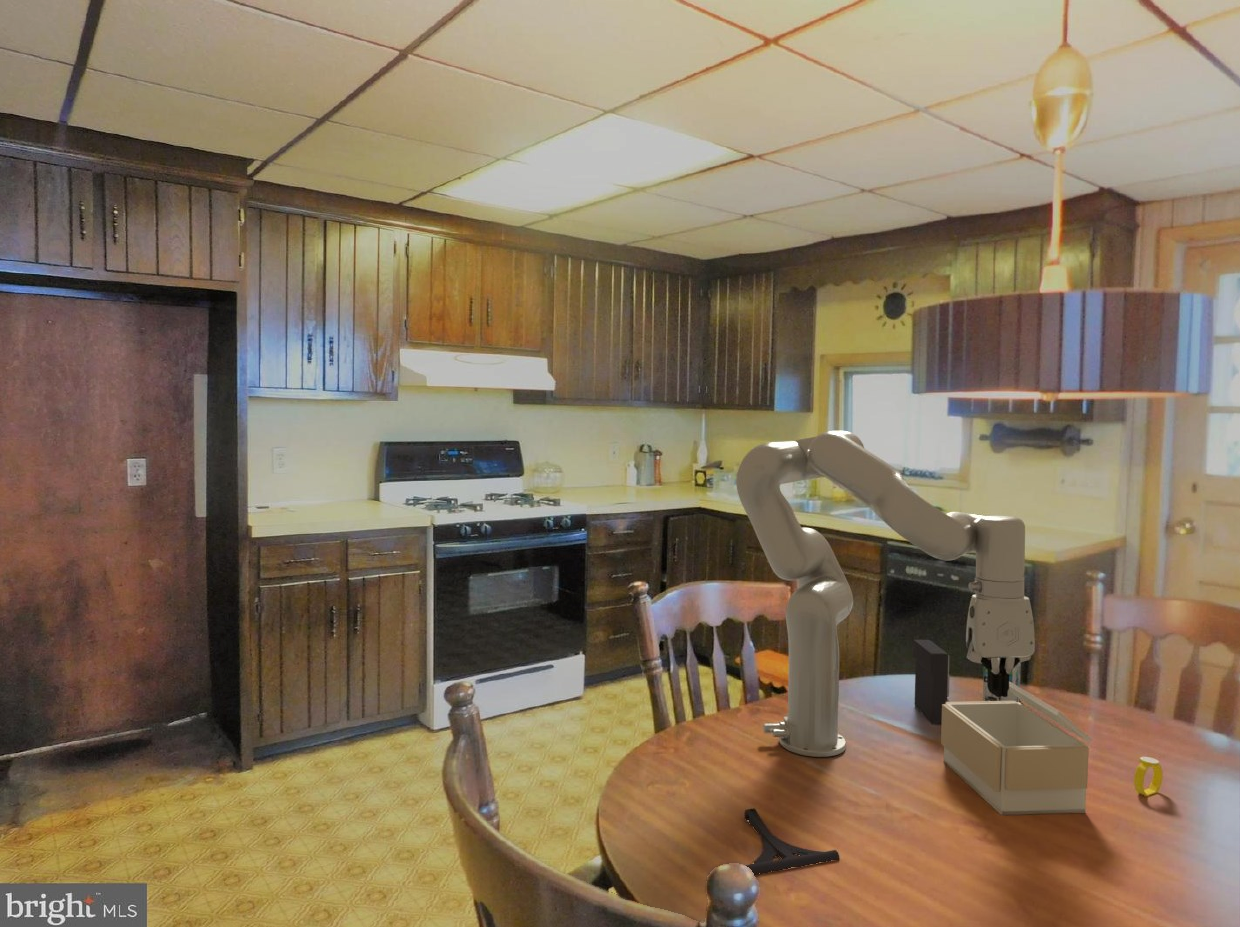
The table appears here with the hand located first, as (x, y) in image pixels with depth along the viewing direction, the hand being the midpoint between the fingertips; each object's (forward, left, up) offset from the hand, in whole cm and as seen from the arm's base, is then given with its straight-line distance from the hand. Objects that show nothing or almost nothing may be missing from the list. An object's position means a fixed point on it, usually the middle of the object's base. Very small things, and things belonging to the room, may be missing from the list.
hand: (998, 694), depth 138 cm
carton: (+3, 0, -16) cm, 16 cm away
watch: (+25, -4, -17) cm, 30 cm away
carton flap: (+7, 0, -3) cm, 8 cm away
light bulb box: (+23, +39, -17) cm, 48 cm away
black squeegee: (-43, -16, -17) cm, 49 cm away
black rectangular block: (+4, +33, -17) cm, 37 cm away
